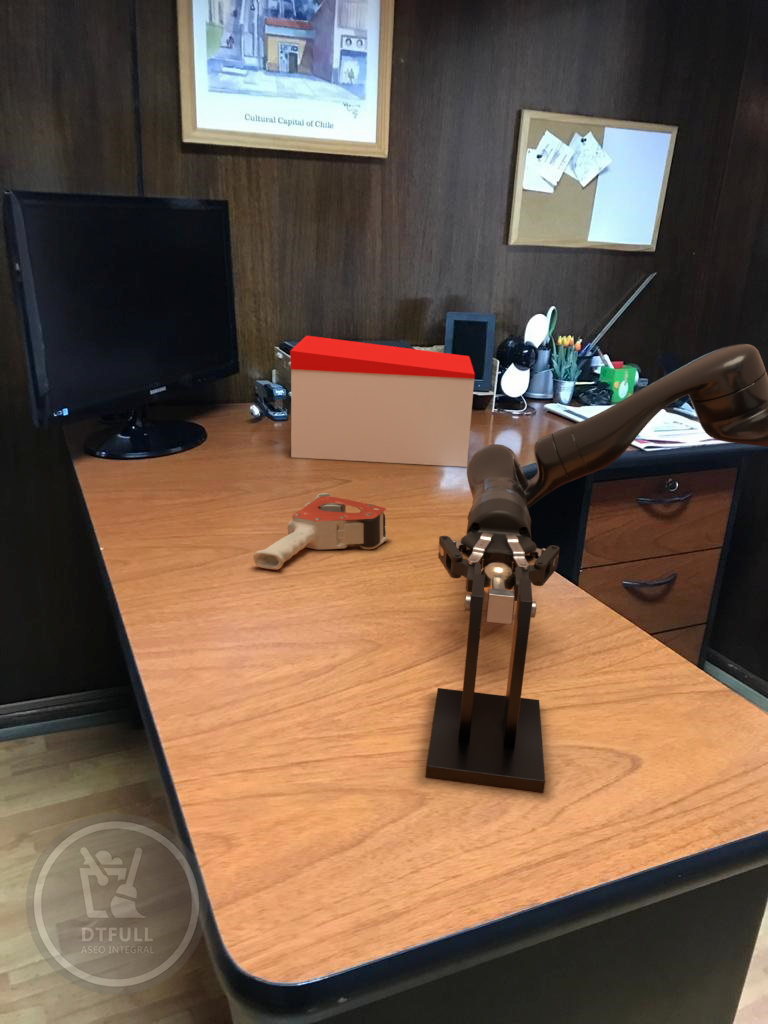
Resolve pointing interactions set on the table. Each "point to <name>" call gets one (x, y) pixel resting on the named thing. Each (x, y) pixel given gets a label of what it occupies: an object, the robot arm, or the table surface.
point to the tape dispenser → (326, 529)
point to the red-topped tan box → (379, 403)
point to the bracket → (490, 714)
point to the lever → (499, 592)
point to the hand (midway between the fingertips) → (496, 590)
